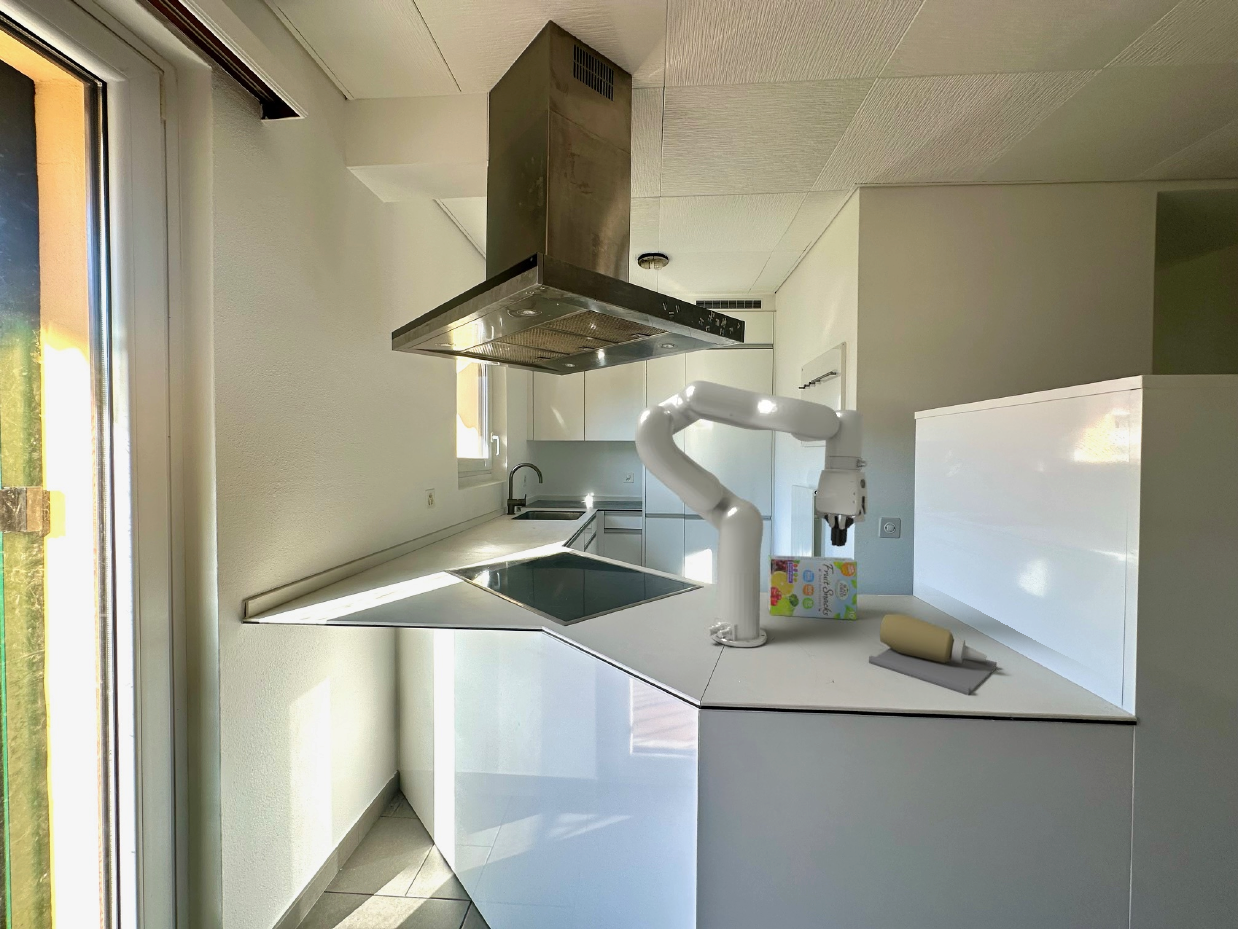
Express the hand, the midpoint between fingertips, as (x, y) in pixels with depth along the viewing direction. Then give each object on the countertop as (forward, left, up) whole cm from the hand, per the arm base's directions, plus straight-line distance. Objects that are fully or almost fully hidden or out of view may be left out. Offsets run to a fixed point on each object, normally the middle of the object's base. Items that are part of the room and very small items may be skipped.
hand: (838, 545), depth 112 cm
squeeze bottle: (+1, -9, -17) cm, 19 cm away
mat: (+1, -19, -21) cm, 29 cm away
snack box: (+11, +12, -22) cm, 27 cm away
